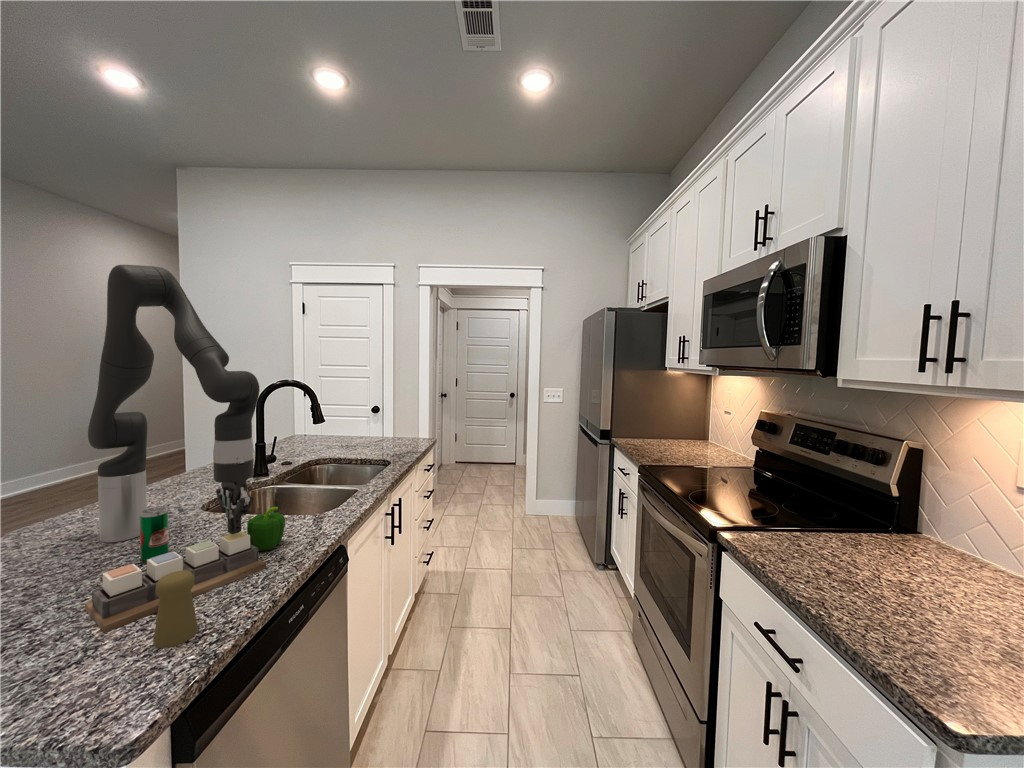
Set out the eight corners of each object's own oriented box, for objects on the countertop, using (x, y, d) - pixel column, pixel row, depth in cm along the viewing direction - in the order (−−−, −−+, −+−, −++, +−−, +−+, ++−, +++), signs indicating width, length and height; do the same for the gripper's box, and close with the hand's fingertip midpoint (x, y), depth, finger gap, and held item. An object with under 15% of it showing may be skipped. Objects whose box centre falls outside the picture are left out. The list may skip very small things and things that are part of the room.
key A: (185, 561, 86) (185, 546, 86) (209, 553, 90) (209, 539, 90) (194, 567, 84) (194, 552, 84) (218, 559, 88) (218, 544, 87)
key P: (219, 550, 92) (219, 536, 91) (240, 543, 95) (240, 529, 95) (228, 555, 89) (228, 541, 89) (250, 548, 93) (250, 534, 93)
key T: (147, 574, 81) (146, 558, 81) (174, 565, 85) (174, 550, 84) (155, 580, 78) (155, 564, 78) (182, 571, 82) (182, 555, 82)
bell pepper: (244, 557, 98) (244, 517, 97) (249, 543, 105) (248, 506, 104) (284, 550, 101) (284, 512, 101) (285, 537, 109) (285, 501, 108)
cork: (170, 625, 72) (170, 565, 72) (206, 624, 73) (205, 565, 72) (143, 648, 66) (141, 584, 66) (181, 647, 67) (181, 583, 66)
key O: (102, 588, 75) (102, 571, 75) (134, 578, 79) (133, 562, 79) (110, 596, 73) (110, 579, 73) (142, 585, 77) (141, 568, 77)
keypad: (84, 609, 76) (84, 587, 76) (241, 553, 99) (240, 537, 99) (104, 632, 70) (103, 609, 70) (266, 568, 93) (266, 550, 93)
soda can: (151, 564, 93) (151, 514, 92) (134, 562, 94) (133, 512, 93) (174, 554, 98) (173, 506, 97) (157, 552, 99) (156, 504, 98)
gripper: (201, 457, 92) (202, 531, 92) (229, 465, 85) (229, 546, 85) (238, 451, 98) (238, 521, 99) (266, 459, 91) (266, 533, 92)
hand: (234, 532), depth 92 cm, fingers closed
